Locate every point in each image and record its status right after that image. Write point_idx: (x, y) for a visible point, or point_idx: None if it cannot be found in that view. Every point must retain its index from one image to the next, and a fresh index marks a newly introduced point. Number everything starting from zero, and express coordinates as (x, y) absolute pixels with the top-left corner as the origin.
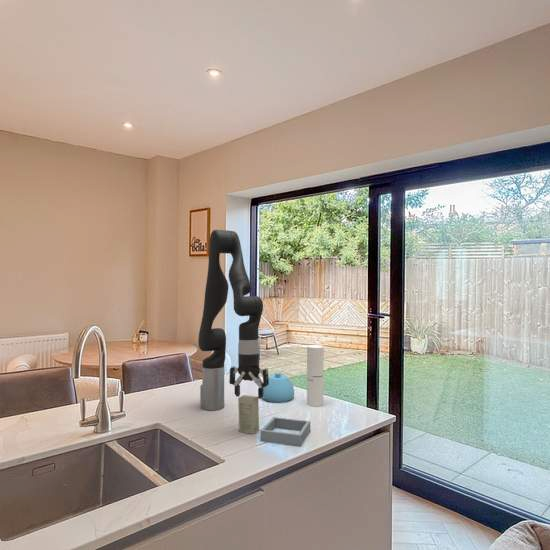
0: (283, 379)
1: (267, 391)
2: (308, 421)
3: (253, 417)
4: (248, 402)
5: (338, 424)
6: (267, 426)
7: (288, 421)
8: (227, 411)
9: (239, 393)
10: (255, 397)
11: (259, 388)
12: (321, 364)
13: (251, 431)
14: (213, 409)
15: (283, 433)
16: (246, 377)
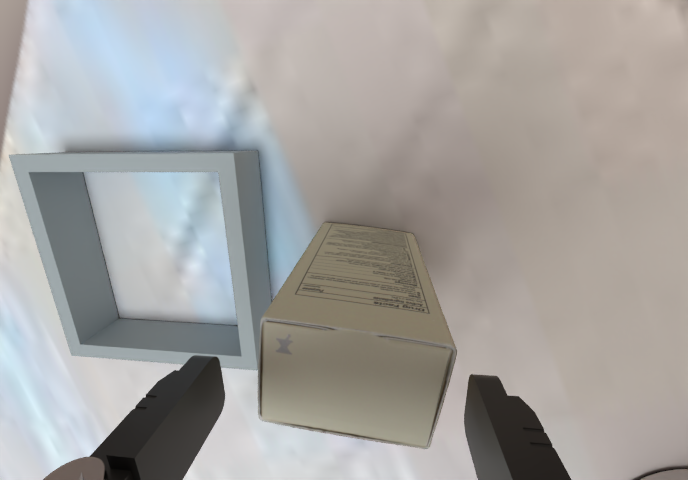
0: None
1: None
2: (76, 349)
3: (304, 252)
4: (323, 306)
5: (52, 410)
6: (226, 232)
7: (175, 344)
8: (573, 470)
9: (471, 434)
10: (269, 390)
11: (113, 456)
12: None
13: (334, 225)
14: (667, 476)
15: (98, 154)
16: None
